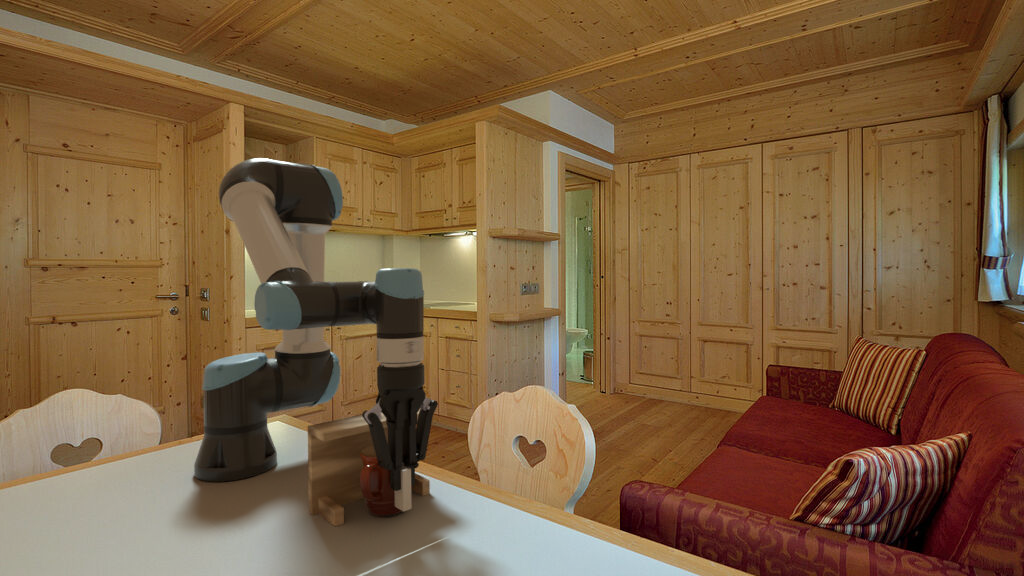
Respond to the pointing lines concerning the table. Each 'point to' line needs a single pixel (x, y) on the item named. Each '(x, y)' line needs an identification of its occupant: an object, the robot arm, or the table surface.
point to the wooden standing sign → (341, 465)
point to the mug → (376, 485)
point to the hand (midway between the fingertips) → (403, 507)
